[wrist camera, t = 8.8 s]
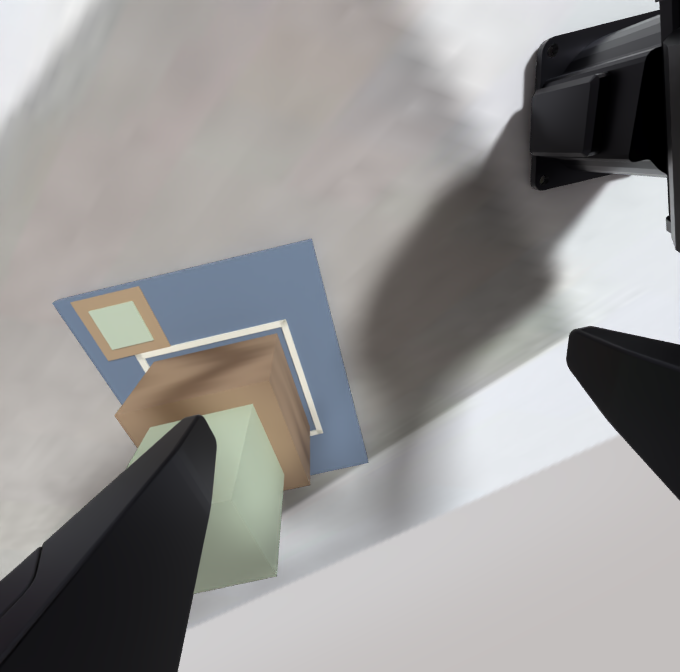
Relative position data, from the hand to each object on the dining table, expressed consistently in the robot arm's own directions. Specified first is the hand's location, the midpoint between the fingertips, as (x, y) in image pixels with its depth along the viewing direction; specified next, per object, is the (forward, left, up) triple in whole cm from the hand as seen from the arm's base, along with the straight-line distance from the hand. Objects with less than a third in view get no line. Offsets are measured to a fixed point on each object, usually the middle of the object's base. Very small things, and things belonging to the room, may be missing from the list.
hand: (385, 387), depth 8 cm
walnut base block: (+9, +8, -12) cm, 17 cm away
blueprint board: (+9, +8, -13) cm, 18 cm away
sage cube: (+9, +8, -8) cm, 14 cm away
